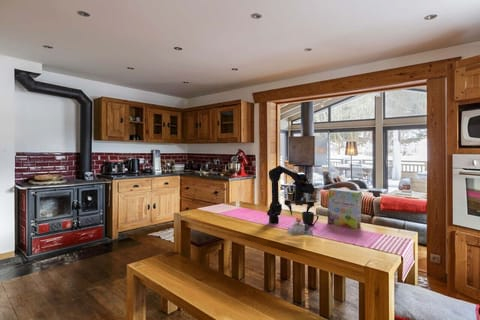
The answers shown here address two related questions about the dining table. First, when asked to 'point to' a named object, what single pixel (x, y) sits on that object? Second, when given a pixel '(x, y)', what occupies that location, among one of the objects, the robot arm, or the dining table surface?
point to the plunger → (298, 220)
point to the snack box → (344, 207)
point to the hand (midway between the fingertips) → (298, 215)
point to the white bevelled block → (299, 227)
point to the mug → (309, 218)
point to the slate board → (300, 233)
